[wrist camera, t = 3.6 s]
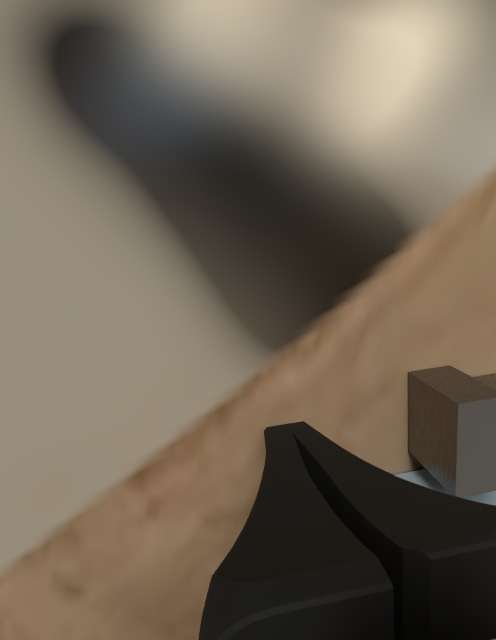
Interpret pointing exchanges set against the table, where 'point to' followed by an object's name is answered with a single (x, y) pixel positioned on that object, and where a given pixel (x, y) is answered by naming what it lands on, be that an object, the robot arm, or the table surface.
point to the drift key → (454, 428)
